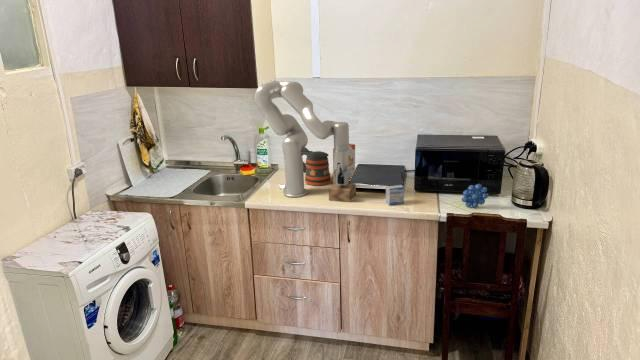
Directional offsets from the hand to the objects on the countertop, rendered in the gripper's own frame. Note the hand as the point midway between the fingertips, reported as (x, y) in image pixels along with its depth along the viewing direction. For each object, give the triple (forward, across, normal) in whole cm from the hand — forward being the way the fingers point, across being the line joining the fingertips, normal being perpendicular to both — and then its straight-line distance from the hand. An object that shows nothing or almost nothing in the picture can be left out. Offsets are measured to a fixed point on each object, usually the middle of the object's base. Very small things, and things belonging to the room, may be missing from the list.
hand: (342, 181), depth 238 cm
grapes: (+9, -3, +64) cm, 65 cm away
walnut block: (+9, 0, 0) cm, 9 cm away
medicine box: (+9, +1, +27) cm, 28 cm away
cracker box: (+9, -24, -6) cm, 26 cm away
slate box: (+1, 0, 0) cm, 1 cm away
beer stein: (+9, -21, -23) cm, 32 cm away
